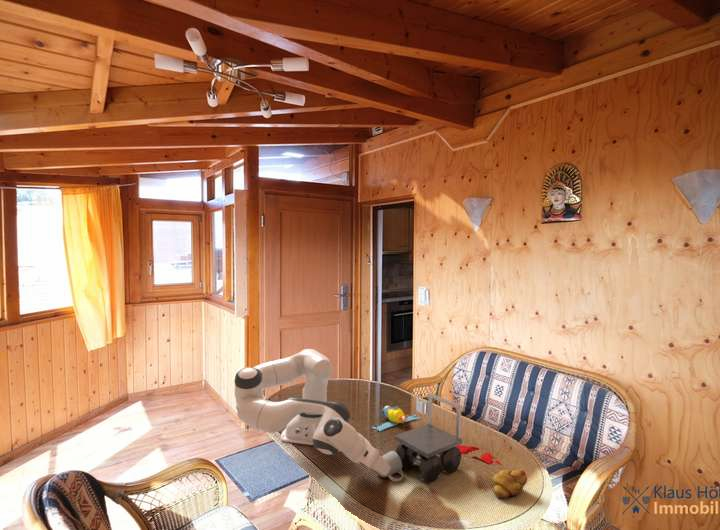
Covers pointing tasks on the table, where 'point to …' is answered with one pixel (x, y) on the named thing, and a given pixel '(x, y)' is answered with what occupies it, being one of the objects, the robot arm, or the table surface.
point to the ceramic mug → (393, 465)
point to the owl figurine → (394, 417)
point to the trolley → (431, 446)
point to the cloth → (485, 457)
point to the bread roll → (509, 483)
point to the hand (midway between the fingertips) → (379, 466)
